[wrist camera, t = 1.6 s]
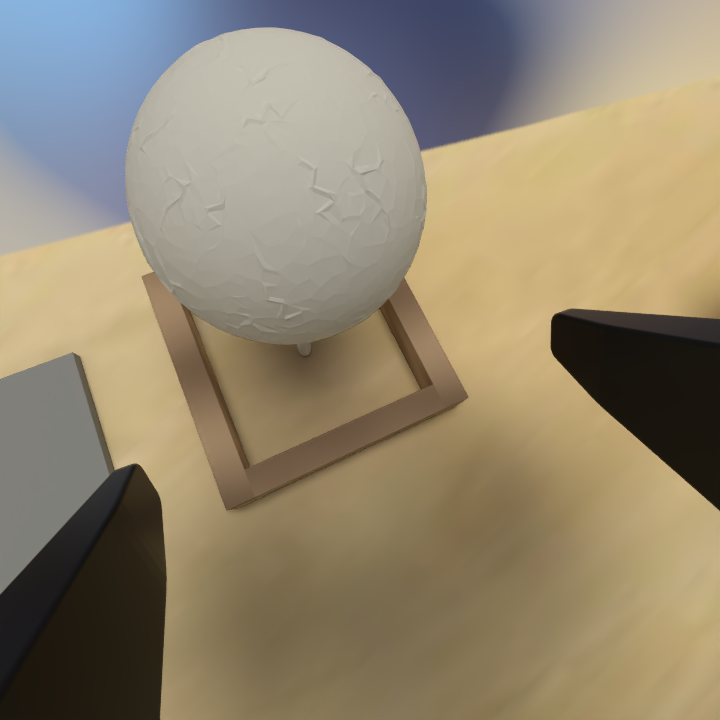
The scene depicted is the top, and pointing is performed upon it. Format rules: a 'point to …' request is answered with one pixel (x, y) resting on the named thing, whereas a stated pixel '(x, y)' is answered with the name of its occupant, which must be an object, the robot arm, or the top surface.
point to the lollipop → (275, 186)
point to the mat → (45, 457)
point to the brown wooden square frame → (311, 456)
